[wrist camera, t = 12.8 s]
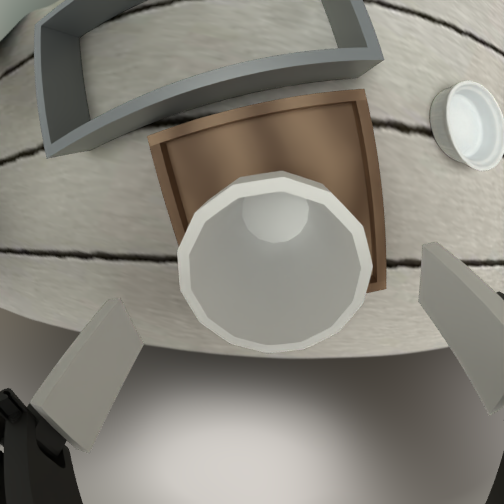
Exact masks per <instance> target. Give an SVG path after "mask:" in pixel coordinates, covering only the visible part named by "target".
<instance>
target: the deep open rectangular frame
mask: <svg viewBox="0 0 504 504" xmlns="http://www.w3.org/2000/svg"><path fill="white" fill-rule="evenodd" d="M144 1H147V0H65V1H64V2H63V3H61V4H60V5H59V6H57V7H56V8H55V9H53V10H52V11H51V12H50V13H48V14H47V15H46V16H45V17H44V18H42V19H41V20H40V21H39V22H38V23H36V24H35V31H34V67H35V84H36V95H37V104H38V112H39V119H40V126H41V132H42V137H43V143H44V148H45V153H46V157H47V159H48V158H53V157H57V156H62V155H67V154H73V153H78V152H84V151H90V150H92V149H94V148H96V147H98V146H100V145H102V144H104V143H106V142H108V141H110V140H113V139H115V138H117V137H119V136H122V135H124V134H126V133H128V132H131V131H133V130H136V129H138V128H140V127H143V126H145V125H148V124H151V123H153V122H156V121H158V120H161V119H164V118H167V117H169V116H172V115H175V114H178V113H181V112H184V111H187V110H190V109H193V108H197V107H200V106H203V105H207V104H210V103H214V102H217V101H221V100H225V99H228V98H232V97H236V96H241V95H245V94H249V93H254V92H258V91H263V90H268V89H273V88H279V87H284V86H290V85H297V84H303V83H311V82H319V81H328V80H338V79H350V78H358V77H360V76H361V75H362V74H364V73H365V72H367V71H368V70H370V69H371V68H373V67H374V66H376V65H377V64H379V63H380V62H382V61H383V60H384V57H383V54H382V51H381V48H380V45H379V42H378V39H377V36H376V33H375V30H374V28H373V25H372V22H371V20H370V17H369V15H368V12H367V10H366V7H365V5H364V3H363V0H321V1H322V3H323V6H324V8H325V11H326V14H327V16H328V19H329V22H330V24H331V27H332V30H333V33H334V36H335V39H336V42H337V45H338V48H337V49H324V50H313V51H304V52H297V53H290V54H283V55H277V56H271V57H266V58H261V59H256V60H251V61H247V62H242V63H238V64H234V65H230V66H226V67H222V68H219V69H215V70H212V71H208V72H205V73H202V74H198V75H195V76H192V77H189V78H186V79H183V80H180V81H177V82H175V83H172V84H169V85H167V86H164V87H161V88H159V89H156V90H154V91H151V92H149V93H146V94H144V95H142V96H139V97H137V98H135V99H133V100H130V101H128V102H126V103H124V104H122V105H120V106H118V107H116V108H114V109H112V110H110V111H108V112H106V113H104V114H102V115H100V116H98V117H96V118H94V119H92V120H91V121H90V116H89V111H88V106H87V100H86V94H85V87H84V81H83V73H82V65H81V56H80V45H79V37H81V36H82V35H84V34H85V33H87V32H89V31H90V30H92V29H93V28H95V27H97V26H98V25H100V24H102V23H103V22H105V21H107V20H109V19H111V18H112V17H114V16H116V15H118V14H120V13H122V12H124V11H126V10H128V9H130V8H132V7H134V6H136V5H138V4H140V3H142V2H144Z"/></svg>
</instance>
